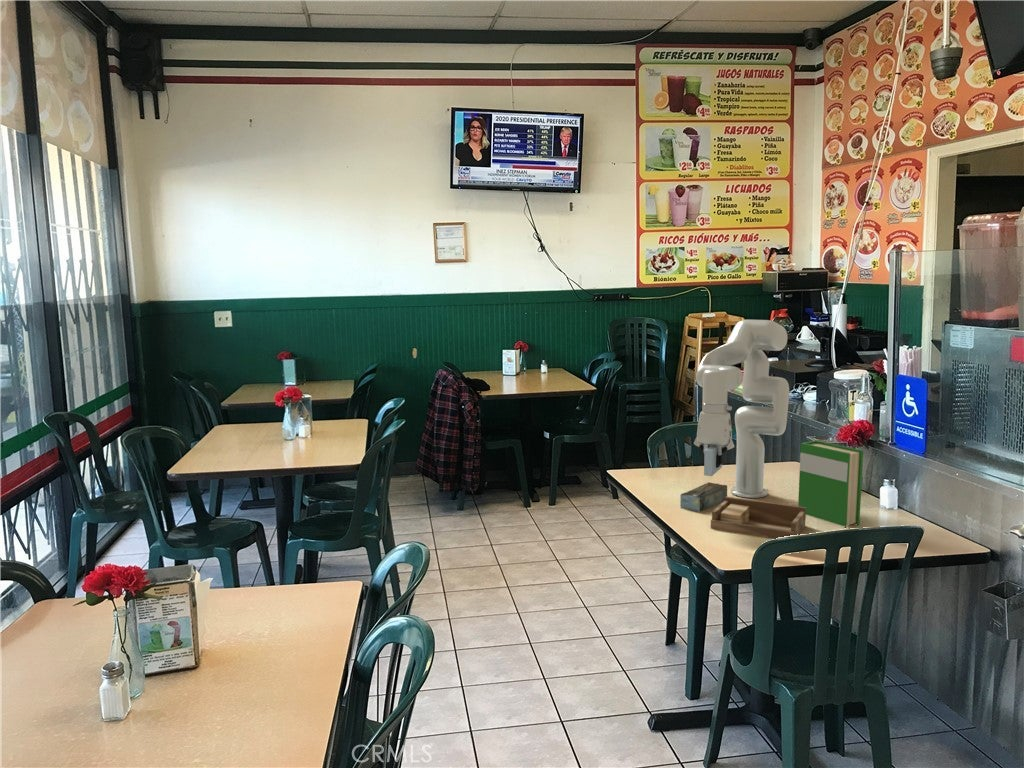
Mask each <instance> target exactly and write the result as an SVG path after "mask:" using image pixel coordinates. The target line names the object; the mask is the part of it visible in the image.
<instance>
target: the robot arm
mask: <svg viewBox="0 0 1024 768" xmlns="http://www.w3.org/2000/svg"><path fill="white" fill-rule="evenodd" d="M787 343H788V332H787V330H786V328H785V327H784V326H783V325H782V324H780V323H777V322H776V321H773V320H769V319H742V320H740V321H738V322H737V323H735V325H734V327H733V328H732V331H731V332H730V334H729V336H728V339H727V341H726V342H725V344H723V345H720V346H719V347H716V348H715V349H713V350H711V351H709V352H707V353H706V354H705V355H704V356H703V358H702V359H701V362H700V363H699V365H698V368H697V370H696V373H695V380H696V383H697V385H698V386H700V387H701V388H702V404H701V405H702V406H701V409H702V411H700V412H699V417H698V422H697V431H696V437H695V439H694V442H693V444H694V445H695V446H696V447H698V448H700V449H701V451H702V452H703V454H705V449H707V448H708V447H709V446H711V445H718V453H717V455H716V468H718V467H720V465H722V466H723V454H724V453H726V451H728V450H732V449H733V448H735V444H734V442H733V439H732V438H733V433H732V432H733V431H732V429H733V428H732V419H731V418H732V417H731V413H730V412H729V411H732V409H733V407H732V405H729V403H728V391H733V390H737V389H738V388H739V387H741V385H742V388H741V393H742V394H741V395H742V398H743V400H744V401H747V402H751V403H756V404H757V403H759V404H768V405H769V404H771V405H772V406H773V407H769V406H768V407H766V406H756V405H744V406H740V407H739V408H738V409H737V410H736V411H735V414H734V424H735V431H736V456H735V486H733V487H732V488H730V492H731V493H730V494H732V495H733V496H736V495H737V496H736V497H740V498H745V499H746V498H749V499H759V498H763V497H766V496H768V493H769V491H768V489H766V488H764V477H765V476H764V474H765V473H764V472H765V471H764V470H765V469H764V468H765V444H764V441H763V439H762V438H761V436H760V435H765V436H766V435H768V436H777V437H778V436H781V435H783V434H784V433H785V431H786V429H787V428H786V427H787V422H788V410H789V400H790V385H789V382H788V381H787V380H786V378H783V377H781V376H780V377H779V376H770V375H769V374H770V373H769V371H770V361H769V359H768V356H767V355H766V354H765V352H764V351H775V352H777V351H778V352H779V351H783V349H784V348H786V346H787ZM741 363H744V366H743V372H742V370H741V369H740V368H739V367H736V366H735V365H737V364H741Z"/></svg>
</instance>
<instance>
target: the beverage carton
mask: <svg viewBox="0 0 1024 768" xmlns="http://www.w3.org/2000/svg"><path fill="white" fill-rule="evenodd" d="M726 496H727V497H728V485H727V484H720V483H715V482H714V483H713V482H706V483H704V484H702V485H699V486H697V487H695V488H693V489H690V490H688V491H686V492H682V493H681V494H680V502H679V503H680V504H679V505H680V509H686V510H690V511H695V512H699V513H700V512H702V511H705V510H706V509H710V508H712V507H714V506H716V505H717V506H718V505H720V504H721V503H722V502H723V501H725V497H726Z"/></svg>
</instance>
